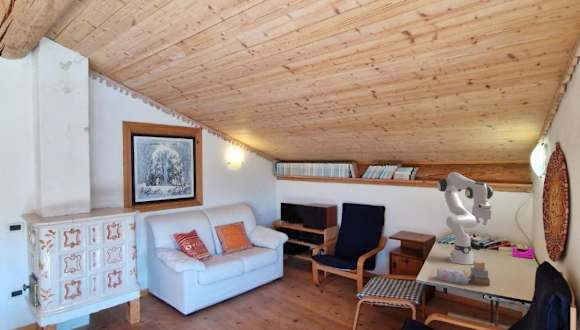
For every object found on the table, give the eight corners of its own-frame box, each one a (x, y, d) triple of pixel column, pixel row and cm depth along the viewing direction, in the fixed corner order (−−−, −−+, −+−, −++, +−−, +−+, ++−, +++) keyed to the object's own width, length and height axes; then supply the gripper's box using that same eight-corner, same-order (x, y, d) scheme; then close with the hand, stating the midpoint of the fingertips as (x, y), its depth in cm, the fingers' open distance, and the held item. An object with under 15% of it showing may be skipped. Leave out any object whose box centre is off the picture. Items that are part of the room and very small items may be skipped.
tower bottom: (470, 281, 236) (469, 274, 236) (483, 281, 235) (483, 274, 235) (475, 285, 227) (475, 278, 227) (489, 286, 226) (489, 278, 226)
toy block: (532, 256, 293) (532, 247, 293) (533, 258, 288) (533, 249, 288) (512, 254, 301) (511, 246, 301) (512, 256, 295) (512, 247, 295)
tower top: (471, 274, 236) (470, 267, 236) (483, 274, 235) (483, 267, 235) (475, 278, 228) (475, 270, 228) (488, 278, 227) (487, 270, 227)
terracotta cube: (473, 267, 234) (473, 260, 234) (481, 267, 234) (481, 260, 234) (477, 270, 229) (476, 262, 229) (484, 270, 229) (484, 262, 229)
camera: (487, 251, 314) (486, 240, 314) (475, 251, 315) (474, 240, 316) (480, 247, 329) (479, 237, 329) (468, 247, 330) (468, 237, 330)
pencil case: (470, 282, 232) (469, 269, 232) (469, 286, 225) (469, 272, 225) (437, 278, 243) (436, 265, 243) (435, 282, 235) (435, 268, 235)
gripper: (469, 203, 251) (469, 221, 251) (483, 206, 231) (483, 226, 231) (478, 203, 251) (478, 221, 251) (492, 206, 231) (493, 226, 230)
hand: (481, 223), depth 241 cm, fingers open, 8 cm apart
